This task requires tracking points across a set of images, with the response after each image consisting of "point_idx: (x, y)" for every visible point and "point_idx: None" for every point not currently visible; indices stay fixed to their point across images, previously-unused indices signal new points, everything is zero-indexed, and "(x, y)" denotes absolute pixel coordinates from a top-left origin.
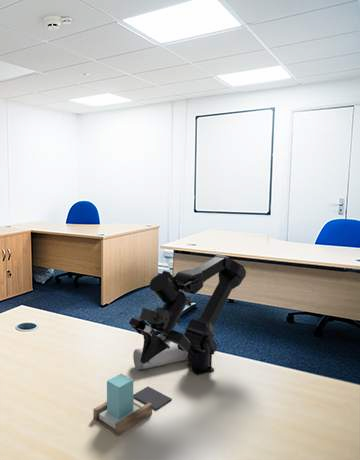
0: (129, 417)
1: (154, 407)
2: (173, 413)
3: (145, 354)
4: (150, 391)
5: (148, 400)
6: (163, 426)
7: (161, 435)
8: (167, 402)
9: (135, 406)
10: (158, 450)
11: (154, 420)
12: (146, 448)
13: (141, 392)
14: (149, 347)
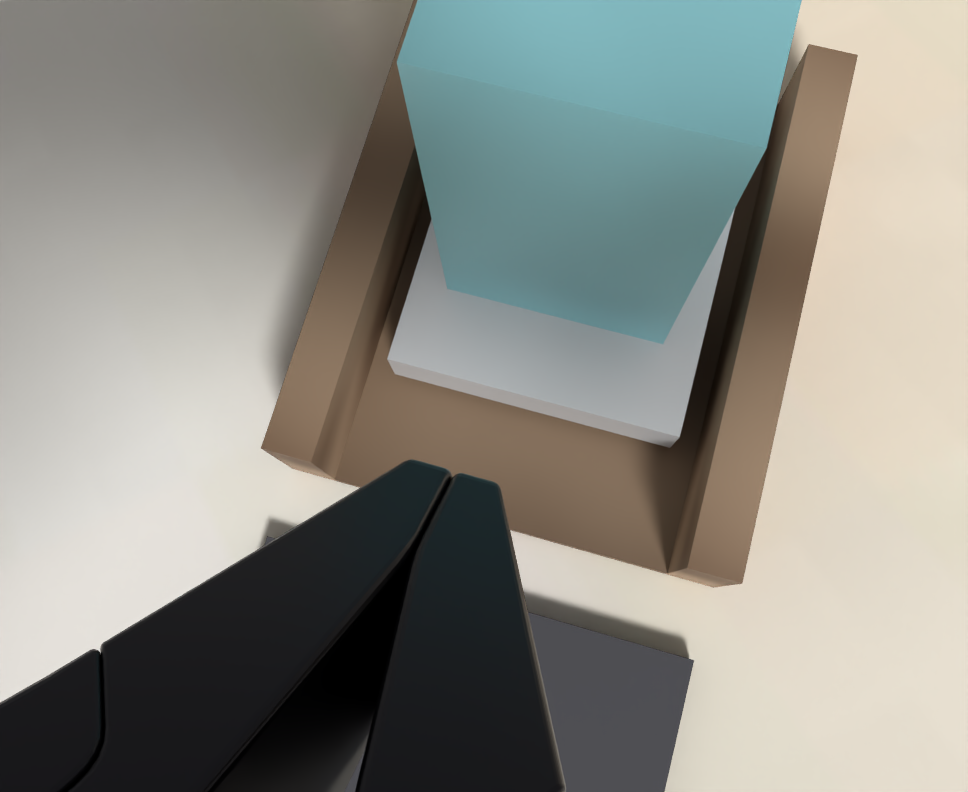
0: (388, 113)
1: None
2: (60, 579)
3: (337, 575)
4: None
5: None
6: (88, 331)
7: (58, 209)
8: None
9: (465, 369)
10: (15, 42)
11: (215, 373)
12: (123, 18)
13: (617, 781)
14: (134, 780)
